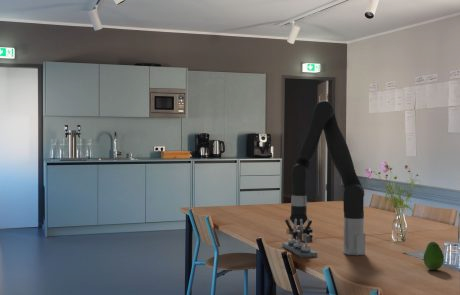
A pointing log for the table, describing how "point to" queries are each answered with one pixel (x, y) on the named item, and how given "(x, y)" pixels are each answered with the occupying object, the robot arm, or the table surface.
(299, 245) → the knob mid
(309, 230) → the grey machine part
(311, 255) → the level plate
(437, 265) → the avocado
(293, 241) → the knob far
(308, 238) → the knob near
